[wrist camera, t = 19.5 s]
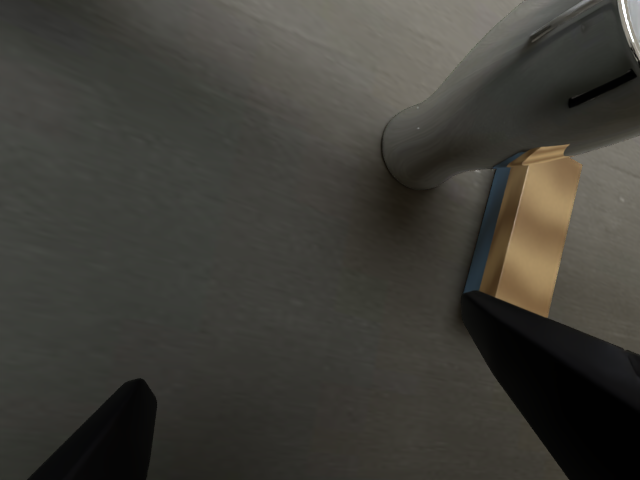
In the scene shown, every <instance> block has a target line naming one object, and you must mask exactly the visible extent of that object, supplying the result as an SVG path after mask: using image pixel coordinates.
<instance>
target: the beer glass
mask: <svg viewBox="0 0 640 480" xmlns="http://www.w3.org/2000/svg"><path fill="white" fill-rule="evenodd" d="M637 136H640V0H524V1H523V2H521V3H520V4H519V5H518V6H517V7H515V8H514V9H513V10H512V11H511V12H510V13H509V14H508V15H506V16H505V17H504V18H503V19H502V20H501V21H500V22H498V23H497V24H496V25H495V26H494V27H493V28H492V29H491V30H490V31H489V32H488V33H487V34H486V35H485V36H484V37H483V38H482V39H481V40H480V41H479V42H478V43H477V44H476V45H475V46H474V47H473V48H472V49H471V50H470V52H469V53H468V54H467V55H466V56H465V57H464V59H463V60H462V61H461V62H460V63H459V64H458V65H457V67H456V68H455V69H454V70H453V71H452V72H451V74H450V75H449V76H448V77H447V78H446V79H445V81H444V82H443V83H442V84H441V85H440V86H439V88H438V89H437V90H436V91H435V92H434V93H433V94H432V95H431V96H430V97H428V98H427V99H426V100H424V101H423V102H421V103H419V104H416V105H414V106H411V107H409V108H406V109H404V110H402V111H401V112H399V113H398V114H396V115H395V116H394V117H393V118H392V119H391V120H390V122H389V123H388V125H387V127H386V129H385V131H384V134H383V139H382V152H383V157H384V160H385V163H386V165H387V167H388V169H389V171H390V172H391V174H392V175H393V176H394V177H395V178H396V179H397V180H398V181H399V182H400V183H401V184H403V185H405V186H407V187H409V188H412V189H416V190H428V189H432V188H434V187H437V186H439V185H441V184H442V183H444V182H445V181H447V180H449V179H450V178H452V177H453V176H455V175H457V174H460V173H463V172H467V171H475V170H484V169H497V168H508V167H518V166H526V165H532V164H539V163H546V162H551V161H555V160H560V159H564V158H568V157H572V156H576V155H580V154H584V153H587V152H590V151H594V150H597V149H600V148H604V147H607V146H610V145H614V144H617V143H620V142H623V141H626V140H629V139H632V138H635V137H637Z"/></svg>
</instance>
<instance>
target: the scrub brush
mask: <svg viewBox="0 0 640 480" xmlns="http://www.w3.org/2000/svg"><path fill="white" fill-rule="evenodd" d="M581 169H582V164H580V163H578V162H576V161H575V160H573V159H571V158H569V157H568V158H564V159H560V160H555V161H551V162H546V163H539V164H532V165H526V166H518V167H508V168H497V169H496V172H495V176H494V180H493V184H492V187H491V191H490V195H489V199H488V202H487V206H486V210H485V214H484V218H483V221H482V225H481V229H480V233H479V237H478V240H477V244H476V248H475V252H474V255H473V259H472V263H471V267H470V271H469V274H468V278H467V282H466V286H465V289H464V293H466V292H470V291H473V290H478V291H481V292H484V293H486V294H489V295H491V296H494V297H496V298H499V299H501V300H504V301H506V302H509V303H511V304H514V305H516V306H519V307H521V308H524V309H526V310H529V311H531V312H534V313H536V314H539V315H541V316H544V317H546V318H547V317H548V313H549V309H550V304H551V300H552V295H553V291H554V287H555V282H556V278H557V274H558V269H559V265H560V261H561V256H562V252H563V248H564V243H565V239H566V234H567V230H568V226H569V221H570V217H571V213H572V208H573V204H574V200H575V195H576V191H577V187H578V182H579V178H580V174H581Z"/></svg>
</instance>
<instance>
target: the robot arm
mask: <svg viewBox="0 0 640 480" xmlns="http://www.w3.org/2000/svg"><path fill="white" fill-rule="evenodd" d="M461 310H462V320H463V323H464V325H465V327H466V328H467V330H468V332H469V334H470V335H471V337H472V339H473V341H474V342H475V344H476V346H477V348H478V349H479V351H480V353H481V355H482V356H483V358H484V360H485V362H486V363H487V365H488V367H489V368H490V370H491V372H492V373H493V375H494V376H495V378H496V379H497V380H498V382H499V383H500V385H501V386H502V387H503V389H504V390H505V392H506V393H507V394H508V396H509V397H510V398H511V400H512V401H513V403H514V404H515V405H516V407H517V408H518V409H519V411H520V412H521V414H522V415H523V416H524V418H525V419H526V421H527V422H528V423H529V425H530V426H531V427H532V429H533V430H534V432H535V433H536V434H537V436H538V437H539V439H540V440H541V441H542V443H543V444H544V445H545V447H546V448H547V450H548V451H549V452H550V454H551V455H552V457H553V458H554V459H555V461H556V462H557V463H558V465H559V466H560V468H561V469H562V470H563V472H564V473H565V475H566V476H567V477H568V479H569V480H640V355H639V354H636V353H634V352H631V351H629V350H625V351H624V349H623V348H621V347H618V346H616V345H613V344H611V343H608V342H606V341H603V340H601V339H598V338H596V337H593V336H591V335H589V334H586V333H584V332H581V331H579V330H576V329H574V328H571V327H569V326H566V325H564V324H561V323H559V322H556V321H554V320H551V319H549V318H546V317H544V316H541V315H539V314H536V313H534V312H531V311H529V310H526V309H524V308H521V307H519V306H516V305H514V304H511V303H509V302H506V301H504V300H501V299H499V298H496V297H494V296H491V295H489V294H486V293H484V292H481V291H478V290H473V291H470V292H466V293H463V294H462V297H461ZM156 410H157V400H156V397H155V396H154V394H153V392H152V391H151V389H150V388H149V386H148V385H147V383H146V382H145V380H143V379H141V378H138V379H135V380H131V381H127V382H125V383H124V384H123V385H122V386H121V387H120V388H119V389H118V390H117V391H116V392H115V393H114V394H113V395H112V396H111V397H110V398H109V399H108V400H107V401H106V402H105V403H104V404H103V405H102V406H101V407H100V408H99V409H98V410H97V411H96V412H95V413H94V414H93V415H92V416H91V417H90V418H89V419H88V420H87V421H86V422H85V423H84V424H83V425H82V426H81V427H80V428H79V429H78V430H77V431H76V432H75V433H74V434H73V435H72V436H71V437H70V438H69V439H68V440H67V441H66V442H65V443H64V444H63V445H61V446H60V447H59V448H58V449H57V450H56V451H55V452H54V453H53V454H52V455H51V456H50V457H49V458H48V459H47V460H46V461H45V462H44V463H43V464H42V465H41V466H40V467H39V468H38V469H37V470H36V471H35V472H34V473H33V474H32V475H31V476H30V477H29V478H28V479H27V480H146V477H147V472H148V467H149V462H150V456H151V448H152V441H153V433H154V426H155V418H156Z"/></svg>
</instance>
